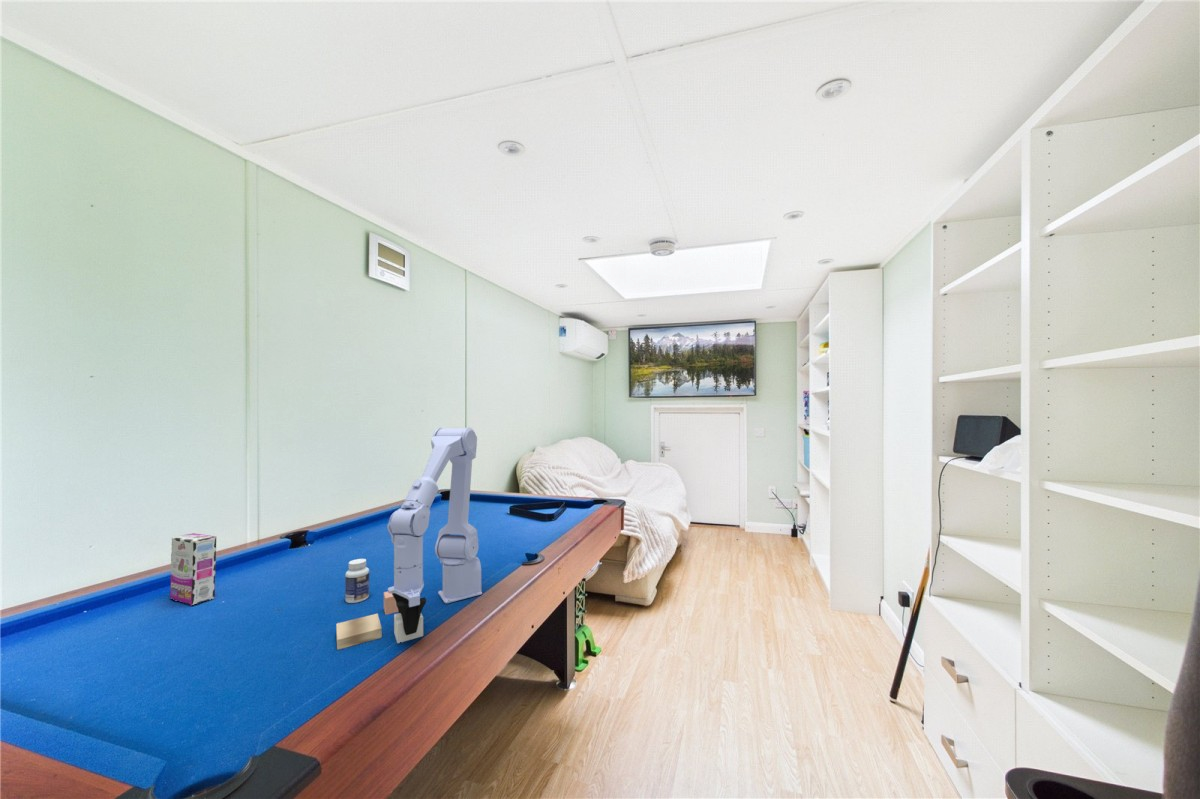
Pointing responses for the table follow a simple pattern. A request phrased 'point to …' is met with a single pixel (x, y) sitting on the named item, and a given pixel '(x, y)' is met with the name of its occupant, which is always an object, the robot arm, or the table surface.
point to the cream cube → (400, 631)
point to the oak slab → (358, 631)
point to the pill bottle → (357, 581)
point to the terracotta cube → (389, 604)
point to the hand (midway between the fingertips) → (408, 627)
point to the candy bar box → (193, 568)
